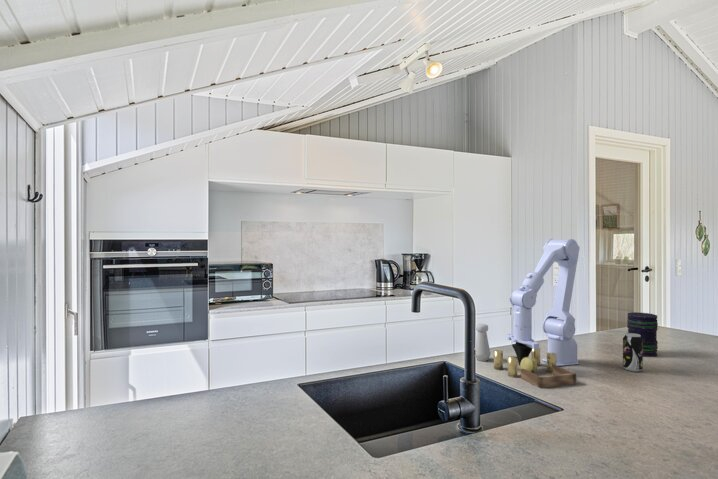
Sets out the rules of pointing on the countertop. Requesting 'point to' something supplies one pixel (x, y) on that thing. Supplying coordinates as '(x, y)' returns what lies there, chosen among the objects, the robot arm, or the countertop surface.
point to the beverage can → (632, 352)
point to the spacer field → (513, 361)
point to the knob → (528, 364)
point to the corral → (550, 378)
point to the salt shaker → (482, 343)
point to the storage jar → (644, 331)
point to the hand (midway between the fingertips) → (522, 365)
